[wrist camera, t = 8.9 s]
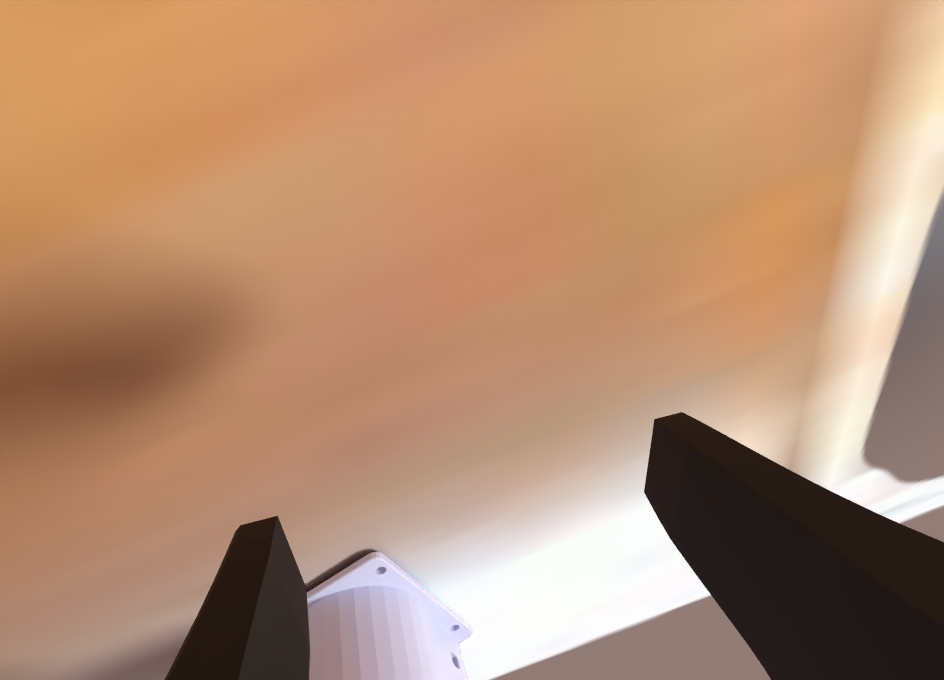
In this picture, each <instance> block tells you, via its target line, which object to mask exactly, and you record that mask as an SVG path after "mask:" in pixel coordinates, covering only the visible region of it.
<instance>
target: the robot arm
mask: <svg viewBox="0 0 944 680" xmlns="http://www.w3.org/2000/svg"><path fill="white" fill-rule="evenodd" d="M644 493H645V495H646V496H647V498H648V500H649V502H650V504H651V506H652V507H653V509H654V511H655V513H656V515H657V517H658V518H659V520H660V522H661V524H662V525H663V527H664V529H665V530H666V532H667V534H668V536H669V537H670V539H671V540H672V542H673V543H674V545H675V546H676V547H677V549H678V550H679V552H680V553H681V554H682V556H683V557H684V558H685V560H686V561H687V563H688V564H689V565H690V567H691V568H692V569H693V571H694V572H695V574H696V575H697V576H698V578H699V579H700V580H701V582H702V583H703V584H704V586H705V587H706V588H707V590H708V591H709V593H710V594H711V595H712V597H713V598H714V599H715V601H716V602H717V603H718V605H719V606H720V607H721V609H722V610H723V611H724V613H725V614H726V616H727V617H728V618H729V620H730V621H731V622H732V623H733V625H734V626H735V628H736V629H737V630H738V632H739V633H740V634H741V636H742V637H743V638H744V640H745V641H746V643H747V644H748V645H749V647H750V648H751V650H752V651H753V652H754V654H755V656H756V657H757V658H758V660H759V661H760V663H761V664H762V666H763V667H764V669H765V670H766V672H767V674H768V675H769V677H770V678H771V680H944V542H942V541H939V540H937V539H934V538H932V537H929V536H927V535H925V534H923V533H920V532H918V531H916V530H913V529H911V528H908V527H906V526H903V525H901V524H899V523H897V522H895V521H892V520H890V519H888V518H886V517H883V516H881V515H879V514H877V513H875V512H873V511H871V510H868V509H866V508H864V507H862V506H860V505H858V504H856V503H854V502H852V501H850V500H848V499H846V498H843V497H841V496H839V495H837V494H835V493H833V492H831V491H829V490H827V489H825V488H823V487H821V486H819V485H817V484H815V483H813V482H811V481H809V480H807V479H806V478H804V477H802V476H800V475H798V474H796V473H794V472H792V471H790V470H788V469H786V468H785V467H783V466H781V465H779V464H777V463H775V462H773V461H772V460H770V459H768V458H766V457H764V456H762V455H760V454H759V453H757V452H755V451H753V450H751V449H750V448H748V447H746V446H744V445H742V444H740V443H739V442H737V441H735V440H733V439H731V438H730V437H728V436H726V435H724V434H722V433H720V432H719V431H717V430H715V429H713V428H711V427H709V426H708V425H706V424H704V423H702V422H700V421H698V420H696V419H694V418H692V417H690V416H688V415H687V414H685V413H682V412H681V413H677V414H673V415H669V416H665V417H661V418H658V419H655V420H654V427H653V434H652V441H651V448H650V455H649V462H648V469H647V476H646V483H645V490H644ZM471 634H472V628H471V626H470V624H469V623H467V622H466V621H465V620H464V619H462V618H461V617H460V616H459V615H458V614H456V613H455V612H454V611H453V610H451V609H450V608H449V607H448V606H446V605H445V604H444V603H443V602H441V601H440V600H439V599H438V598H437V597H435V596H434V595H433V594H432V593H430V592H429V591H428V590H427V589H425V588H424V587H423V586H422V585H420V584H419V583H418V582H417V581H416V580H414V579H413V578H412V577H411V576H409V575H408V574H407V573H406V572H404V571H403V570H402V569H401V568H399V567H398V566H397V565H396V564H395V563H393V562H392V561H391V560H390V559H388V558H387V557H386V556H385V555H383V554H382V553H380V552H372V553H370V554H368V555H366V556H364V557H363V558H361V559H360V560H358V561H356V562H355V563H353V564H352V565H350V566H348V567H347V568H345V569H344V570H342V571H340V572H339V573H337V574H336V575H334V576H333V577H331V578H329V579H328V580H326V581H325V582H323V583H321V584H320V585H318V586H317V587H315V588H313V589H312V590H310V591H309V592H307V591H306V586H305V584H304V581H303V579H302V576H301V574H300V571H299V569H298V566H297V564H296V561H295V559H294V556H293V554H292V551H291V549H290V546H289V544H288V541H287V539H286V536H285V534H284V531H283V529H282V526H281V523H280V521H279V518H278V516H275V517H271V518H267V519H263V520H260V521H256V522H252V523H248V524H244V525H240V527H239V528H238V529H237V530H236V532H235V534H234V536H233V538H232V541H231V543H230V545H229V548H228V550H227V552H226V555H225V557H224V559H223V561H222V564H221V566H220V568H219V570H218V573H217V575H216V577H215V579H214V581H213V584H212V586H211V588H210V590H209V592H208V594H207V596H206V598H205V600H204V603H203V605H202V607H201V609H200V611H199V613H198V615H197V617H196V619H195V621H194V623H193V625H192V627H191V629H190V631H189V633H188V635H187V637H186V639H185V641H184V643H183V645H182V647H181V649H180V651H179V653H178V655H177V657H176V659H175V661H174V663H173V665H172V667H171V668H170V670H169V672H168V674H167V676H166V678H165V680H468V677H467V674H466V670H465V666H464V662H463V658H462V654H461V650H460V646H459V643H461V642H462V641H464V640H466V639H467V638H469V637H470V636H471Z"/></svg>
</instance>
